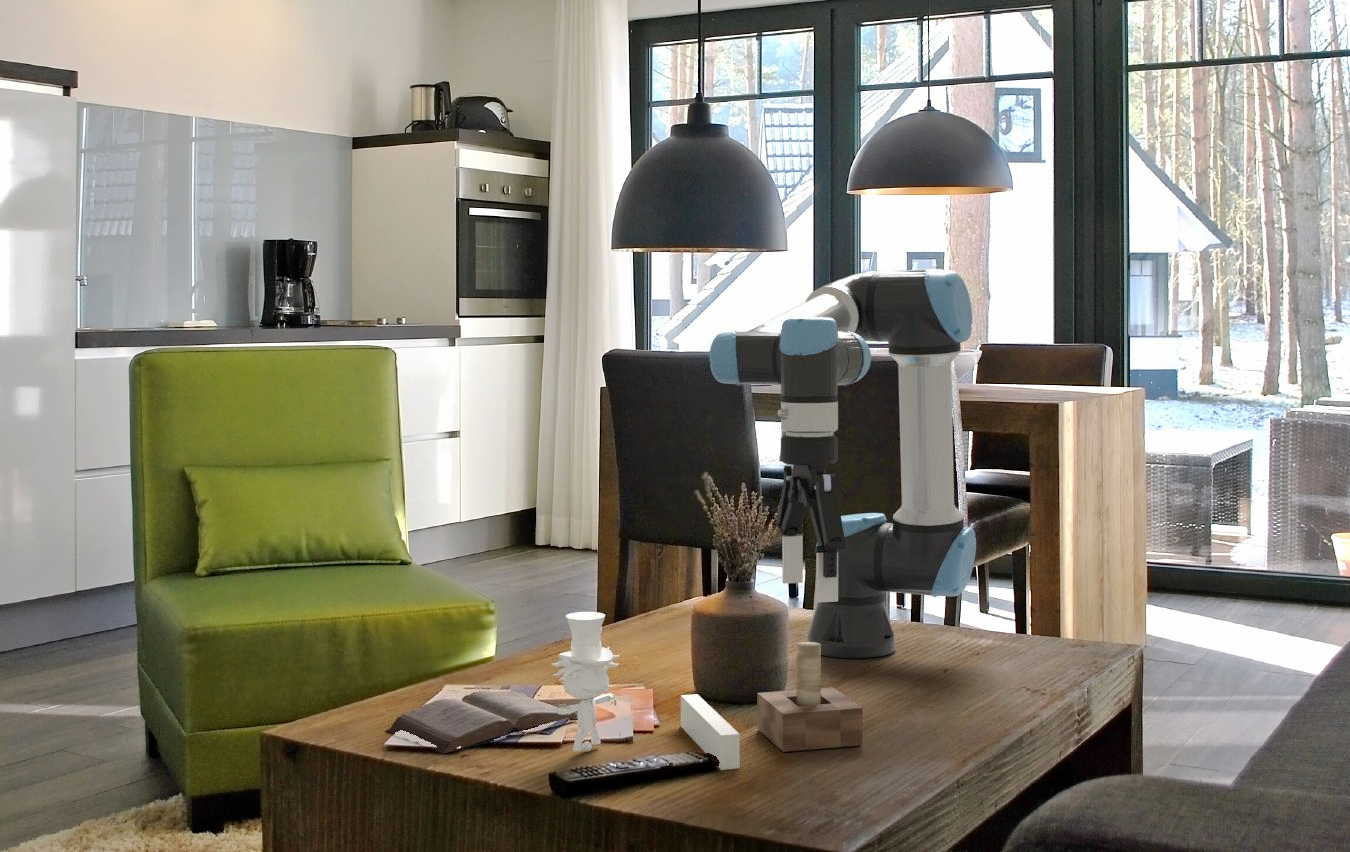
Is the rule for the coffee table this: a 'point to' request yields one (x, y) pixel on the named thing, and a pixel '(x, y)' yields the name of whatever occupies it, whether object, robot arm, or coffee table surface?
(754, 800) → the coffee table surface
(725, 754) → the wall
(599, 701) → the figurine
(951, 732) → the coffee table surface
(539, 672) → the coffee table surface
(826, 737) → the block
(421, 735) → the book
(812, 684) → the dowel
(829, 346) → the robot arm
